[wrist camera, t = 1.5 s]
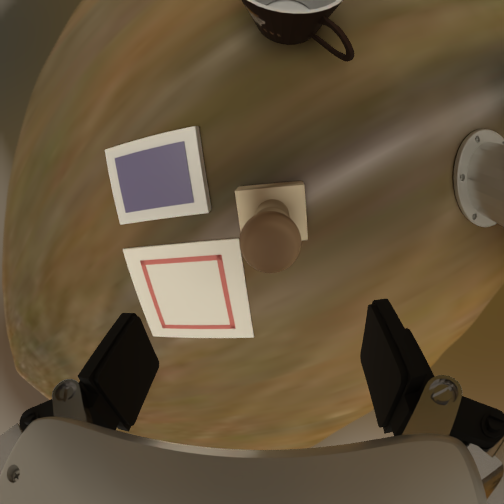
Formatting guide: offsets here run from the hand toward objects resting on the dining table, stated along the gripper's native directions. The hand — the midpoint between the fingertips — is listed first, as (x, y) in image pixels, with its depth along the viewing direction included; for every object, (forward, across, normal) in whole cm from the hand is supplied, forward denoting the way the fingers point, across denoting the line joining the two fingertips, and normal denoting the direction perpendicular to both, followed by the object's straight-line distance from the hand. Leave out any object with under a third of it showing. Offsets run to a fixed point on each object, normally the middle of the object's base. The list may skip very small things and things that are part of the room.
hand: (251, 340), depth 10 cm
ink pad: (+20, +11, -5) cm, 23 cm away
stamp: (+20, -1, 0) cm, 20 cm away
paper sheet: (+20, +11, +10) cm, 25 cm away
